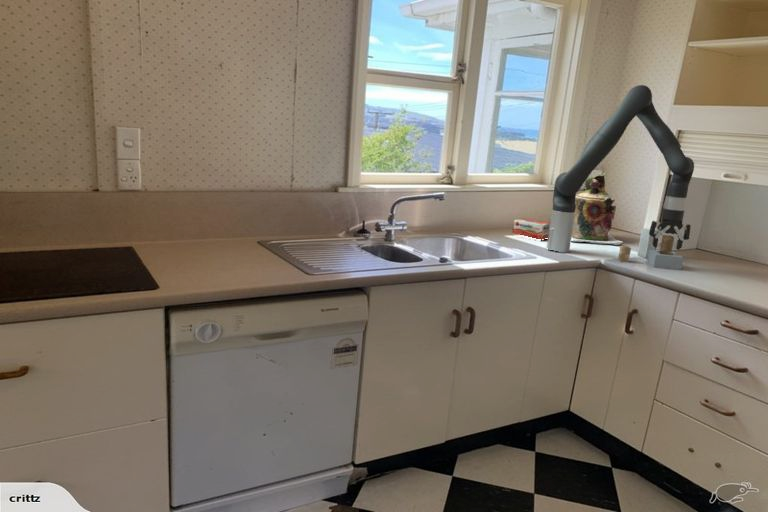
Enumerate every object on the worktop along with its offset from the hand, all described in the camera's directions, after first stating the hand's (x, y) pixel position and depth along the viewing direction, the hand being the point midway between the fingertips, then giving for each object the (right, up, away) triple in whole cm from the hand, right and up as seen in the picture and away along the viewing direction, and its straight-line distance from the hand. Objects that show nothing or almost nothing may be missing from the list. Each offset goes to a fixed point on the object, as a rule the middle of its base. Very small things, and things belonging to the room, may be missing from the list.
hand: (666, 248), depth 218 cm
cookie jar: (-14, +5, +47) cm, 49 cm away
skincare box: (0, -3, +17) cm, 17 cm away
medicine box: (-43, +5, +41) cm, 60 cm away
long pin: (0, -7, +2) cm, 7 cm away
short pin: (-15, -5, +5) cm, 17 cm away
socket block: (0, -7, +2) cm, 7 cm away
